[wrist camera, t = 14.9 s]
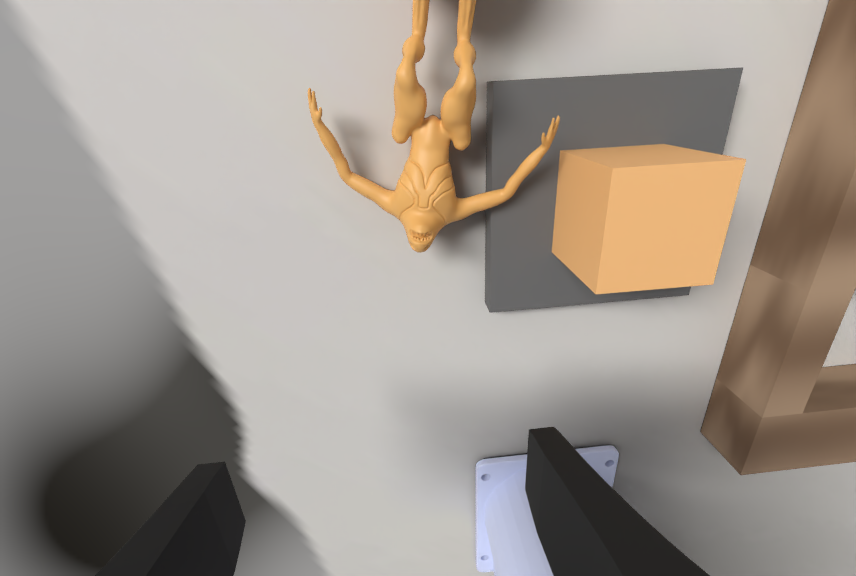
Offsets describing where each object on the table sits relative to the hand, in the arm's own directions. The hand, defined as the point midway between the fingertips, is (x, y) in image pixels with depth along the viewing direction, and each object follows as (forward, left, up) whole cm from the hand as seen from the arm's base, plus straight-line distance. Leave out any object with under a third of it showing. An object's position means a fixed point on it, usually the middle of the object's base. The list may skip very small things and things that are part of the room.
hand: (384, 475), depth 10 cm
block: (+4, -9, -8) cm, 13 cm away
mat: (+4, -9, -9) cm, 14 cm away
